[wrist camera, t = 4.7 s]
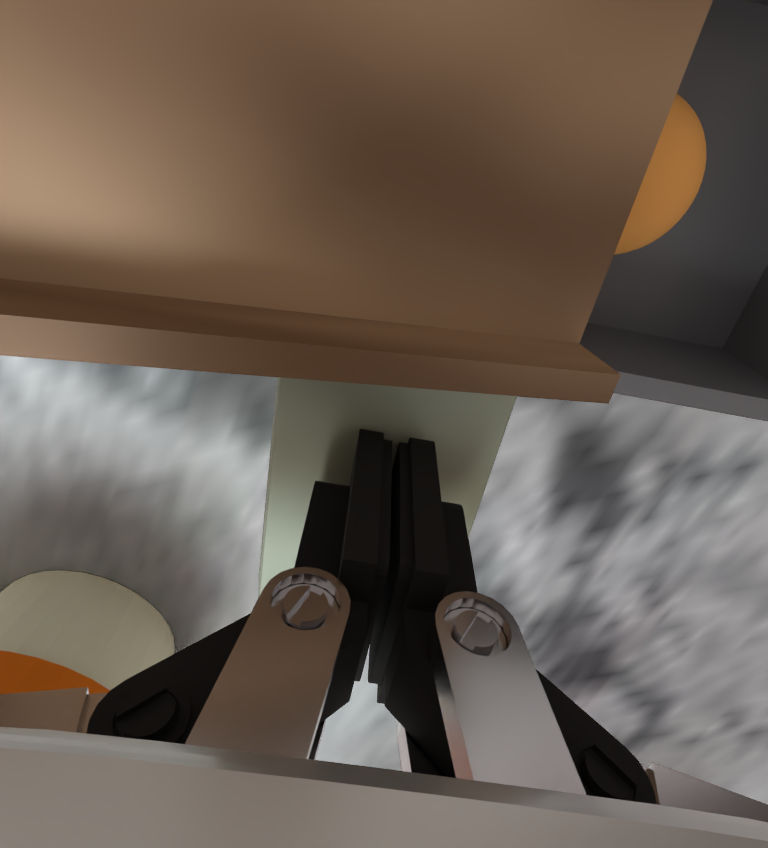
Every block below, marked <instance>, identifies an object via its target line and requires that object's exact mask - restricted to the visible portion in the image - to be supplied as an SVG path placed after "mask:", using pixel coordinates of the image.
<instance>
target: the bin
mask: <svg viewBox="0 0 768 848" xmlns="http://www.w3.org/2000/svg"><path fill="white" fill-rule="evenodd" d="M677 94H678V95H680V96H681V97H682V98H683V99H684V100H685V101H686V102H687V103H688V104H689V105H690V106H691V108H692V109H693V110H694V111H695V113H696V115H697V116H698V118H699V120H700V122H701V125H702V128H703V131H704V135H705V140H706V166H705V172H704V176H703V180H702V183H701V185H700V188H699V191H698V193H697V195H696V197H695V199H694V201H693V202H692V204H691V205H690V207H689V209H688V210H687V212H686V213H685V214H684V215H683V216H682V218H681V219H680V220H679V221H678V222H677V223H676V224H675V225H674V226H673V227H672V228H671V229H670V230H669V231H667V232H666V233H665V234H664V235H662V236H661V237H660V238H658V239H657V240H655V241H653V242H652V243H650V244H648V245H646V246H644V247H642V248H639V249H636V250H633V251H630V252H627V253H622V254H616V255H614V256H613V258H612V261H611V263H610V266H609V269H608V271H607V274H606V276H605V279H604V281H603V284H602V287H601V289H600V292H599V294H598V297H597V299H596V302H595V305H594V307H593V310H592V312H591V315H590V317H589V320H588V323H587V325H586V328H585V330H584V333H583V335H582V338H581V341H580V343H579V344H580V345H582V346H583V347H584V348H586V349H587V350H588V351H590V352H591V353H592V354H594V355H595V356H596V357H598V358H599V359H600V360H602V361H603V362H605V363H606V364H607V365H609V366H610V367H611V368H613V369H614V370H615V371H617V372H618V373H619V374H621V376H620V378H619V381H618V383H617V385H616V387H615V390H614V392H613V393H617V394H623V395H628V396H633V397H639V398H644V399H650V400H655V401H661V402H666V403H671V404H677V405H682V406H688V407H693V408H698V409H704V410H709V411H715V412H720V413H726V414H731V415H736V416H742V417H747V418H753V419H758V420H763V421H768V0H713V1H712V4H711V6H710V9H709V11H708V14H707V17H706V19H705V22H704V24H703V27H702V29H701V32H700V35H699V37H698V40H697V42H696V45H695V47H694V50H693V53H692V55H691V58H690V60H689V63H688V65H687V68H686V71H685V73H684V76H683V78H682V81H681V83H680V86H679V89H678V91H677Z"/></svg>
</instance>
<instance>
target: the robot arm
mask: <svg viewBox="0 0 768 848" xmlns="http://www.w3.org/2000/svg"><path fill="white" fill-rule="evenodd" d="M369 645H370V651H369V669H368V682H369V683H376V684H378V692H377V703H384V704H385V707H386V708H387V709H388V710H389V711H390V712H391V714H392V715H393V716H394V717H395V718H396V719H397V720H398V725H397V740H398V747H399V754H400V761H401V768H402V771H397V770H389V769H381V768H373V767H365V766H357V765H350V764H342V763H334V762H326V761H318V760H315V759H316V755H317V751H318V748H319V744H320V741H321V737H322V734H323V730H324V726H325V722H326V718H328V717H329V716H330V715H332V714H333V713H334V712H336V711H337V710H338V709H340V708H341V707H342V706H343V705H345V704H346V703H347V702H349V700H350V696H351V692H352V688H353V684H354V681H360V679H361V675H362V672H363V668H364V664H365V660H366V656H367V652H368V648H369ZM0 848H768V805H767V804H764V803H762V802H759V801H756V800H754V799H751V798H748V797H745V796H743V795H740V794H737V793H735V792H732V791H729V790H726V789H724V788H721V787H718V786H716V785H713V784H710V783H707V782H705V781H702V780H699V779H697V778H694V777H691V776H688V775H686V774H683V773H680V772H678V771H675V770H672V769H669V768H667V767H664V766H661V765H659V764H656V763H653V762H652V763H651V764H650V765H649V767H648V768H646V767H644V766H641V764H640V763H639V761H638V760H637V759H636V758H635V757H634V756H633V755H632V754H631V753H630V752H629V750H628V749H627V748H626V747H625V746H623V745H622V744H621V743H620V742H619V741H618V740H617V739H615V738H614V737H613V736H612V735H611V734H610V733H609V732H607V731H606V730H605V729H604V728H603V727H602V726H601V725H599V724H598V723H597V722H596V721H595V720H594V719H593V718H591V717H590V716H589V715H588V714H587V713H586V712H585V711H583V710H582V709H581V708H580V707H579V706H578V705H576V704H575V703H574V702H573V701H572V700H571V699H570V698H568V697H567V696H566V695H565V694H564V693H563V692H562V691H560V690H559V689H558V688H557V687H556V686H555V685H554V684H552V683H551V682H550V681H549V680H548V679H547V678H546V677H544V676H543V675H542V674H541V673H540V672H539V671H537V670H536V669H535V666H534V664H533V661H532V659H531V656H530V654H529V651H528V649H527V646H526V644H525V641H524V639H523V636H522V634H521V632H520V629H519V627H518V625H517V623H516V621H515V620H514V618H513V616H512V615H511V614H510V613H509V612H508V611H507V610H506V609H505V608H504V606H502V605H501V604H499V603H498V602H497V601H495V600H494V599H492V598H490V597H487V596H485V595H482V594H480V593H477V587H476V581H475V575H474V569H473V563H472V557H471V551H470V546H469V540H468V534H467V528H466V522H465V516H464V510H463V507H462V505H460V504H455V503H449V502H443V501H441V492H440V483H439V474H438V466H437V457H436V448H435V442H434V441H429V440H423V439H417V438H411V437H410V438H409V440H408V443H402V442H399V445H398V448H397V453H396V457H395V461H394V465H393V470H392V441H391V440H385V439H384V433H382V432H376V431H371V430H365V429H360V430H359V435H358V441H357V446H356V451H355V457H354V462H353V467H352V473H351V478H350V484H349V486H345V485H339V484H333V483H327V482H321V481H315V483H314V487H313V491H312V495H311V500H310V504H309V508H308V512H307V516H306V520H305V525H304V529H303V533H302V537H301V541H300V545H299V550H298V554H297V558H296V562H295V566H294V568H291V569H288V570H285V571H282V572H280V573H279V574H277V575H276V576H274V577H273V578H271V579H270V581H269V582H268V583H267V585H266V586H265V587H264V589H263V590H262V592H261V594H260V596H259V598H258V600H257V602H256V604H255V606H254V608H253V610H252V612H251V613H250V614H249V615H247V616H245V617H243V618H241V619H239V620H237V621H235V622H234V623H232V624H230V625H228V626H226V627H224V628H222V629H220V630H218V631H217V632H215V633H213V634H211V635H209V636H207V637H205V638H203V639H201V640H200V641H198V642H196V643H194V644H192V645H190V646H188V647H186V648H185V649H183V650H181V651H179V652H177V653H175V654H173V655H171V656H169V657H168V658H166V659H164V660H162V661H160V662H158V663H156V664H154V665H152V666H151V667H149V668H147V669H145V670H143V671H141V672H139V673H137V674H136V675H134V676H132V677H130V678H128V679H126V680H125V681H123V682H122V683H120V684H119V685H117V686H116V687H114V688H113V689H111V690H110V691H109V692H107V693H96V694H89V691H88V687H82V688H70V689H58V690H46V691H34V692H22V693H10V694H0Z"/></svg>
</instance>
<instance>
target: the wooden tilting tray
mask: <svg viewBox="0 0 768 848" xmlns="http://www.w3.org/2000/svg"><path fill="white" fill-rule="evenodd" d="M712 1H713V0H0V355H5V356H18V357H31V358H43V359H56V360H68V361H81V362H93V363H106V364H119V365H131V366H144V367H156V368H169V369H181V370H194V371H207V372H219V373H232V374H244V375H257V376H269V377H277V385H276V396H275V407H274V418H273V428H272V439H271V450H270V461H269V471H268V482H267V493H266V503H265V514H264V525H263V536H262V546H261V557H260V568H259V596H260V594H261V592H262V590H263V589H264V587H265V586H266V585H267V583H268V582H269V581H270V579H271V578H273V577H274V576H276V575H277V574H279V573H280V572H282V571H285V570H288V569H291V568H294V566H295V562H296V558H297V554H298V550H299V545H300V541H301V537H302V533H303V529H304V525H305V520H306V516H307V512H308V508H309V504H310V500H311V495H312V491H313V487H314V483H315V481H321V482H327V483H333V484H339V485H345V486H349V484H350V478H351V473H352V467H353V462H354V457H355V451H356V446H357V441H358V435H359V430H360V429H365V430H371V431H376V432H382V433H384V439H385V440H391V441H392V470H393V465H394V461H395V457H396V453H397V448H398V445H399V442H402V443H408V440H409V438H410V437H411V438H417V439H423V440H429V441H434V442H435V448H436V457H437V466H438V474H439V483H440V492H441V501H443V502H449V503H455V504H460V505H462V507H463V510H464V516H465V522H466V528H467V534H468V536H469V533H470V531H471V528H472V525H473V522H474V519H475V516H476V513H477V510H478V507H479V504H480V502H481V499H482V496H483V493H484V490H485V487H486V484H487V481H488V478H489V476H490V473H491V470H492V467H493V464H494V461H495V458H496V455H497V452H498V449H499V447H500V444H501V441H502V438H503V435H504V432H505V429H506V426H507V423H508V420H509V418H510V415H511V412H512V409H513V406H514V403H515V400H516V397H517V396H521V397H534V398H546V399H559V400H571V401H584V402H596V403H609V401H610V399H611V396H612V394H613V392H614V390H615V387H616V385H617V383H618V381H619V378H620V376H621V374H619V373H618V372H617V371H615V370H614V369H613V368H611V367H610V366H609V365H607V364H606V363H605V362H603V361H602V360H600V359H599V358H598V357H596V356H595V355H594V354H592V353H591V352H590V351H588V350H587V349H586V348H584V347H583V346H582V345H580V344H579V343H580V341H581V338H582V335H583V333H584V330H585V328H586V325H587V323H588V320H589V317H590V315H591V312H592V310H593V307H594V305H595V302H596V299H597V297H598V294H599V292H600V289H601V287H602V284H603V281H604V279H605V276H606V274H607V271H608V269H609V266H610V263H611V261H612V258H613V256H614V253H615V251H616V248H617V245H618V243H619V240H620V238H621V235H622V233H623V230H624V227H625V225H626V222H627V220H628V217H629V215H630V212H631V209H632V207H633V204H634V202H635V199H636V197H637V194H638V191H639V189H640V186H641V184H642V181H643V179H644V176H645V173H646V171H647V168H648V166H649V163H650V161H651V158H652V155H653V153H654V150H655V148H656V145H657V143H658V140H659V137H660V135H661V132H662V130H663V127H664V125H665V122H666V119H667V117H668V114H669V112H670V109H671V107H672V104H673V101H674V99H675V96H676V94H677V91H678V89H679V86H680V83H681V81H682V78H683V76H684V73H685V71H686V68H687V65H688V63H689V60H690V58H691V55H692V53H693V50H694V47H695V45H696V42H697V40H698V37H699V35H700V32H701V29H702V27H703V24H704V22H705V19H706V17H707V14H708V11H709V9H710V6H711V4H712Z"/></svg>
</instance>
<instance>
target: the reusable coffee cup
mask: <svg viewBox="0 0 768 848" xmlns="http://www.w3.org/2000/svg"><path fill="white" fill-rule="evenodd" d="M174 652H175V645H174V637H173V635H172V632H171V630H170V627H169V625H168V624H167V622H166V621H165V619H164V618H163V616H162V615H161V614H160V613H159V612H158V611H157V610H156V609H155V608H154V607H153V606H152V605H151V604H150V603H149V602H148V601H146V600H145V599H144V598H142V597H141V596H139V595H138V594H137V593H135V592H133V591H132V590H130V589H128V588H126V587H124V586H122V585H120V584H118V583H116V582H113V581H110V580H108V579H105V578H103V577H99V576H95V575H91V574H87V573H83V572H75V571H66V570H57V571H43V572H38V573H33V574H29V575H26V576H24V577H22V578H19V579H17V580H15V581H14V582H13V583H11V584H10V585H9V586H8V587H6V588H5V589H4V590H3V591H2V592H1V593H0V694H10V693H22V692H34V691H46V690H58V689H70V688H82V687H88V691H89V694H96V693H107V692H109V691H110V690H111V689H113V688H114V687H116V686H117V685H119V684H120V683H122V682H123V681H125V680H126V679H128V678H130V677H132V676H134V675H136V674H137V673H139V672H141V671H143V670H145V669H147V668H149V667H151V666H152V665H154V664H156V663H158V662H160V661H162V660H164V659H166V658H168V657H169V656H171V655H173V654H174Z"/></svg>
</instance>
